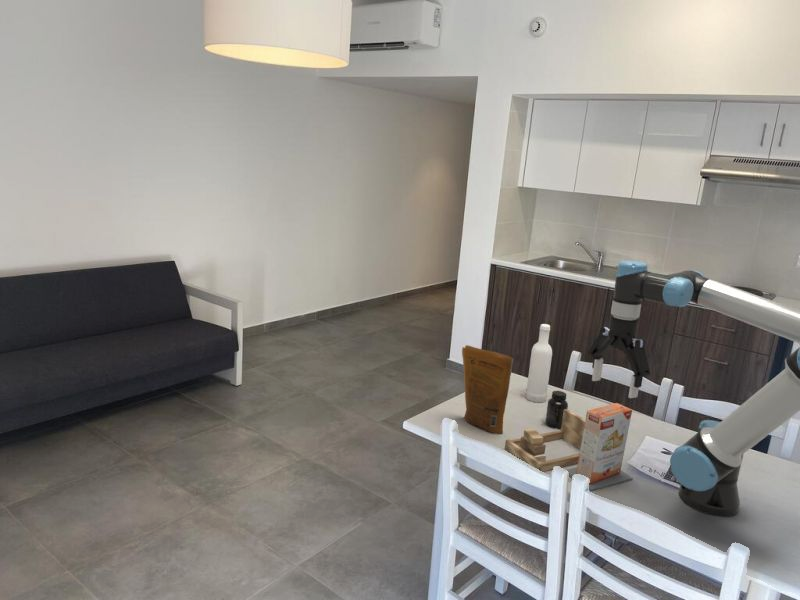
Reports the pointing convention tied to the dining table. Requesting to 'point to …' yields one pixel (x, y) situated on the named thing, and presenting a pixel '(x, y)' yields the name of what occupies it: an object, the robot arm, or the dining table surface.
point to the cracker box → (604, 441)
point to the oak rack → (569, 432)
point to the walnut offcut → (532, 447)
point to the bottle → (539, 367)
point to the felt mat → (604, 480)
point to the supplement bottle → (556, 409)
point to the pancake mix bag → (486, 387)
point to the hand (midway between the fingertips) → (613, 388)
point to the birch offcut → (538, 457)
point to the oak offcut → (533, 437)
